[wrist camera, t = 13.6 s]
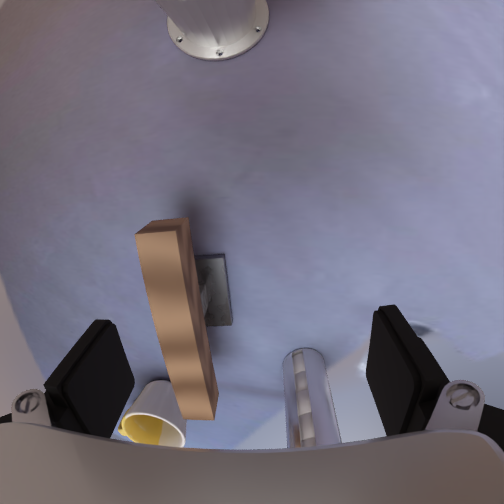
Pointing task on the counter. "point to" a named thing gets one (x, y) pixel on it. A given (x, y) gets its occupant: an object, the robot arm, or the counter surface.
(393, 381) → the robot arm
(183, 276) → the walnut beam
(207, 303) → the ridge
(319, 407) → the silver metal cylinder
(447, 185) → the counter surface
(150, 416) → the mug
